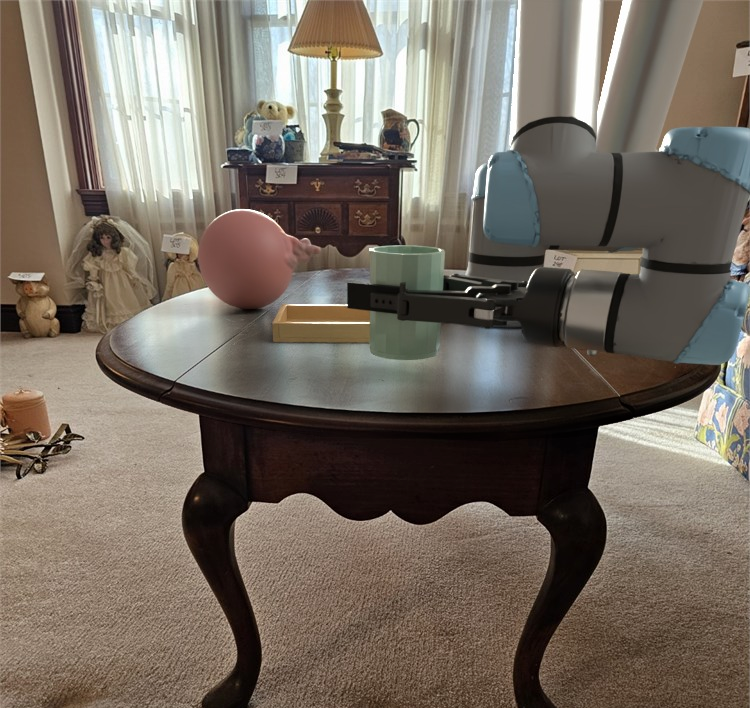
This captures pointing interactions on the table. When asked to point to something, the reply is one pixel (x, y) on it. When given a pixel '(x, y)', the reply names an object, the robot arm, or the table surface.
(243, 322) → the table surface
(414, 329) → the cup
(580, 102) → the robot arm
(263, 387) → the table surface
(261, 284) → the balloon
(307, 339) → the tray
